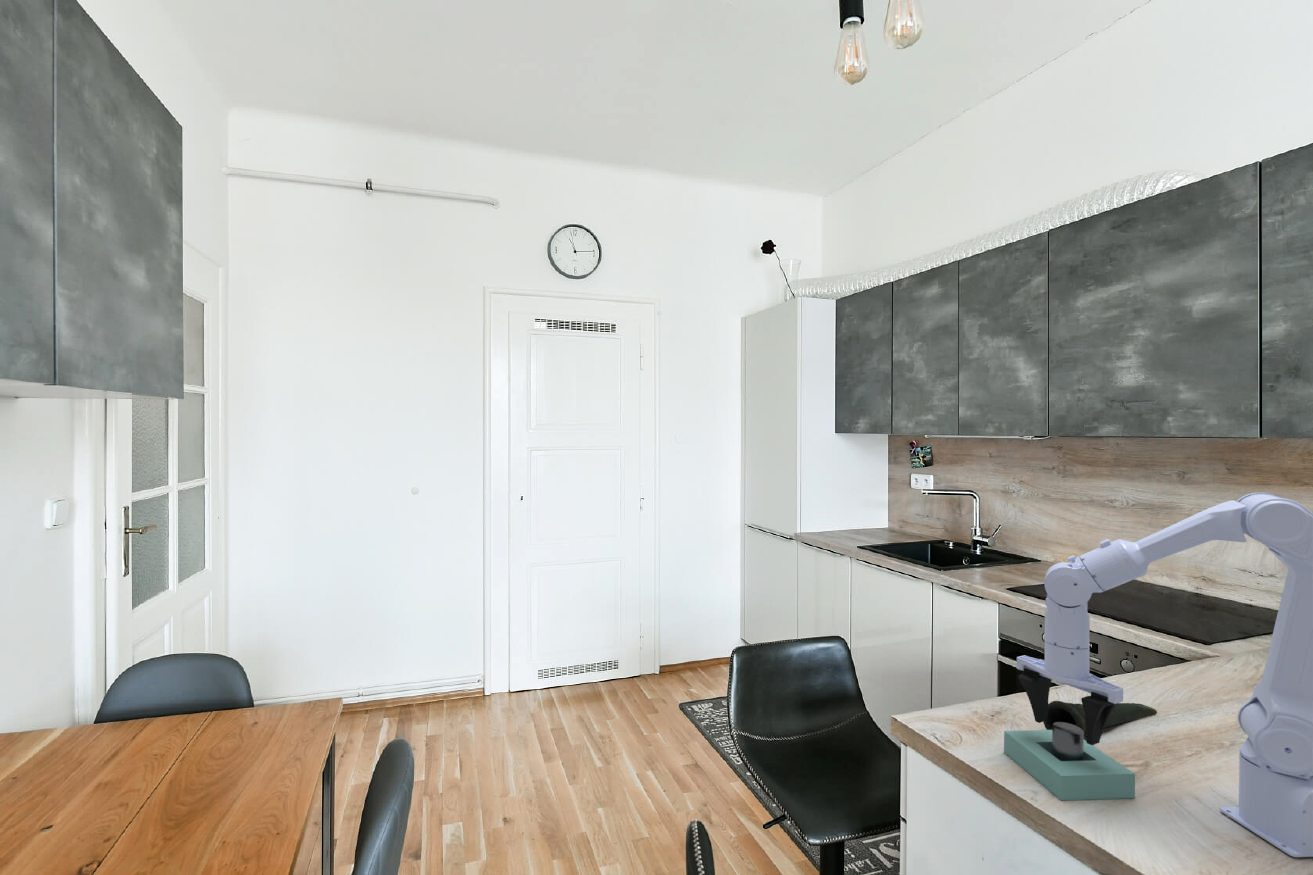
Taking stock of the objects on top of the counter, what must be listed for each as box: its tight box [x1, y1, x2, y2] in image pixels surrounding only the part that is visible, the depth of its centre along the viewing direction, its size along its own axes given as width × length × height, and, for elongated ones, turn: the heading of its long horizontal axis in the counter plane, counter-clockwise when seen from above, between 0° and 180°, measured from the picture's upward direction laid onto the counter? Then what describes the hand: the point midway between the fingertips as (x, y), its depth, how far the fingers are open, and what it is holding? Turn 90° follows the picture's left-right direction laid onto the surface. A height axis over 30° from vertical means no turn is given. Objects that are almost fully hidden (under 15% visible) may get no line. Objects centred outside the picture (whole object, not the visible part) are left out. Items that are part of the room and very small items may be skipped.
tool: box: [1042, 700, 1158, 736], centre depth 109 cm, size 28×6×7 cm, turn 111°
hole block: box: [1003, 729, 1136, 801], centre depth 94 cm, size 13×11×4 cm
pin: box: [1052, 722, 1085, 761], centre depth 94 cm, size 4×4×7 cm
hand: (1066, 731), depth 94 cm, fingers open, 7 cm apart
